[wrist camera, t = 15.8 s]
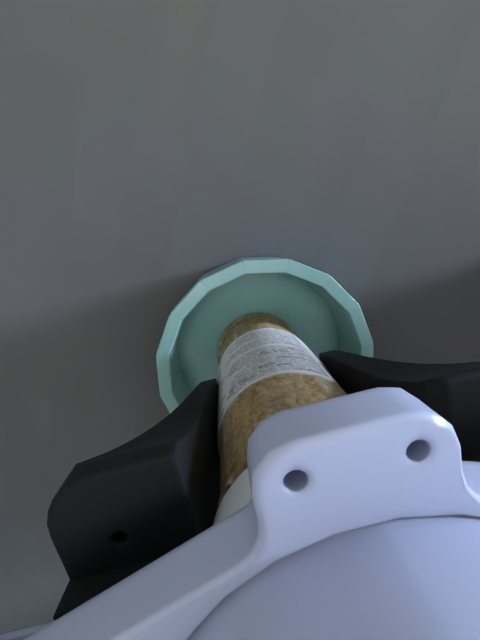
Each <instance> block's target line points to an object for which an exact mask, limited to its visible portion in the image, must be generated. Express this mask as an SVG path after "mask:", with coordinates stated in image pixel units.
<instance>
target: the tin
mask: <svg viewBox="0 0 480 640" xmlns="http://www.w3.org/2000/svg"><path fill="white" fill-rule="evenodd" d="M252 313H268V314H271V315H273V316H276V317H278V318H280V319H282V320H283V321H284V322H286V323H287V324H288V325H289V326H290V327H291V329H292V330H293V331H294V332H295V334H296V337H298V338H299V339H300V340H301V341H302V342H303V343H304V344H305V345H306V346H307V347H308V348H309V349H310V350H311V351H312V352H313V354H314V355H315V356H316V357H317V358H318V359H319V353H323V352H327V351H331V350H340V351H345V352H349V353H354V354H358V355H362V356H367V357H371V358H373V350H374V344H373V340H372V337H371V335H370V332H369V329H368V327H367V324H366V321H365V318H364V316H363V313H362V310H361V307H360V306H359V304H358V303H357V302H356V301H355V300H354V299H353V298H352V297H351V296H350V295H349V294H348V293H347V292H346V291H345V290H344V289H343V288H342V287H341V286H340V285H339V284H338V283H337V282H336V281H335V280H334V279H333V278H332V277H331V276H330V275H329V274H326V273H324V272H321V271H319V270H316V269H314V268H311V267H308V266H306V265H303V264H301V263H298V262H296V261H293V260H290V259H286V258H280V257H252V258H239V259H235V260H233V261H231V262H229V263H226V264H224V265H221V266H219V267H217V268H216V269H214V270H212V271H210V272H207V273H205V274H204V275H202V276H201V277H200V278H199V280H198V281H197V282H196V283H195V284H194V285H193V286H192V287H191V288H190V290H189V291H188V292H187V293H186V294H185V295H184V296H183V297H182V298H181V300H180V301H179V302H178V303H177V304H176V306H175V307H174V308H173V310H172V311H171V312H170V314H169V316H168V319H167V322H166V325H165V328H164V331H163V334H162V337H161V340H160V343H159V346H158V349H157V352H156V364H157V374H158V384H159V394H160V397H161V399H162V401H163V402H164V404H165V406H166V408H167V409H168V411H169V413H172V412H173V411H174V410H175V409H176V408H177V407H178V406H179V405H180V404H181V403H182V402H183V401H184V400H185V399H186V398H187V396H188V395H189V394H190V393H191V392H192V391H193V390H194V389H195V388H196V387H197V385H198V384H199V383H201V382H203V381H207V380H211V379H215V378H216V379H217V383H218V370H219V365H218V358H217V347H218V343H219V340H220V338H221V336H222V334H223V332H224V331H225V329H226V328H227V327H228V326H229V325H230V324H231V323H232V322H233V321H234V320H235V319H237V318H240V317H242V316H244V315H247V314H252ZM319 360H320V359H319Z"/></svg>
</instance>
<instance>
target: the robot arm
mask: <svg viewBox="0 0 480 640" xmlns="http://www.w3.org/2000/svg"><path fill="white" fill-rule="evenodd" d="M319 359H320V361H321V362H322V363H323V365H324V366H325V367H326V368H327V369H328V371H329V372H330V374H331V376H332V377H333V378H334V379H335V381H336V382H337V383H338V384H339V385H340V386H341V388H342V389H343V390H344V391H345V392H346V393H347V394H348V395H344V396H340V397H336V398H332V399H328V400H323V401H319V402H315V403H311V404H307V405H303V406H299V407H295V408H291V409H286V410H282V411H280V412H278V413H276V414H274V415H272V416H270V417H268V418H266V419H264V420H262V421H260V423H259V424H258V426H257V427H256V428H255V430H254V431H253V433H252V434H251V436H250V437H249V439H248V445H247V465H248V473H249V480H250V488H251V496H252V498H251V500H250V501H249V503H248V504H247V505H246V506H245V507H243V508H241V509H240V510H238V511H236V512H235V513H233V514H231V515H230V516H228V517H226V518H225V519H223V520H221V521H220V522H218V523H216V524H215V525H213V523H214V519H215V516H216V512H217V508H218V502H219V498H220V457H219V452H218V443H217V426H218V383H217V379H216V378H215V379H211V380H207V381H203V382H201V383H199V384H198V385H197V387H196V388H195V389H194V390H193V391H192V392H191V393H190V394H189V395H188V396H187V398H186V399H185V400H184V401H183V402H182V403H181V404H180V405H179V406H178V407H177V408H176V409H175V410H174V411H173V412H172V413H170V414H169V415H168V416H167V417H166V418H164V419H163V420H162V421H161V422H159V423H158V424H157V425H155V426H154V427H152V428H151V429H149V430H148V431H146V432H145V433H143V434H141V435H140V436H138V437H136V438H135V439H133V440H131V441H129V442H127V443H126V444H124V445H122V446H120V447H117V448H115V449H113V450H111V451H109V452H106V453H104V454H102V455H99V456H96V457H94V458H91V459H89V460H86V461H83V462H81V463H78V464H76V465H75V466H74V468H73V469H72V471H71V472H70V474H69V475H68V477H67V478H66V480H65V481H64V483H63V484H62V486H61V488H60V489H59V491H58V492H57V494H56V495H55V497H54V498H53V500H52V502H51V505H50V508H49V510H48V519H47V526H48V529H49V533H50V536H51V539H52V541H53V543H54V545H55V548H56V550H57V552H58V554H59V556H60V558H61V561H62V563H63V565H64V567H65V569H66V571H67V574H68V576H69V578H70V581H69V583H68V585H67V587H66V590H65V592H64V594H63V596H62V599H61V601H60V603H59V605H58V607H57V610H56V612H55V614H54V616H53V618H54V620H55V621H53V622H50V623H46V624H42V625H38V626H34V627H30V628H26V629H22V630H18V631H14V632H10V633H5V634H1V635H0V640H480V362H470V363H456V364H415V363H404V362H394V361H388V360H382V359H376V358H371V357H367V356H362V355H358V354H354V353H349V352H345V351H340V350H331V351H327V352H323V353H319Z"/></svg>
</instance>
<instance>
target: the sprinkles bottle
mask: <svg viewBox="0 0 480 640" xmlns="http://www.w3.org/2000/svg"><path fill="white" fill-rule="evenodd" d="M217 358H218V365H219V370H218V426H217V443H218V452H219V457H220V498H219V502H218V508H217V512H216V516H215V519H214V523H213V525H215V524H216V523H218V522H220V521H221V520H223V519H225V518H226V517H228V516H230V515H231V514H233V513H235V512H236V511H238V510H240V509H241V508H243V507H245V506H246V505H247V504H248V503H249V501H250V500H251V498H252V496H251V488H250V480H249V473H248V465H247V445H248V439H249V437H250V436H251V434H252V433H253V431H254V430H255V428H256V427H257V426H258V424H259V423H260V421H262V420H264V419H266V418H268V417H270V416H272V415H274V414H276V413H278V412H280V411H282V410H286V409H291V408H295V407H299V406H303V405H307V404H311V403H315V402H319V401H323V400H328V399H332V398H336V397H340V396H344V395H348V394H347V393H346V392H345V391H344V390H343V389H342V388H341V386H340V385H339V384H338V383H337V382H336V381H335V379H334V378H333V377H332V376H331V374H330V372H329V371H328V369H327V368H326V367H325V366H324V365H323V363H322V362H321V361H320V360H319V359H318V358H317V357H316V356H315V355H314V354H313V352H312V351H311V350H310V349H309V348H308V347H307V346H306V345H305V344H304V343H303V342H302V341H301V340H300V339H299V338H298V337H296V334H295V332H294V331H293V330H292V329H291V327H290V326H289V325H288V324H287V323H286V322H284V321H283V320H282V319H280V318H278V317H276V316H273V315H271V314H268V313H252V314H247V315H244V316H242V317H240V318H237V319H235V320H234V321H233V322H232V323H231V324H230V325H229V326H228V327H227V328H226V329H225V331H224V332H223V334H222V336H221V338H220V340H219V343H218V347H217Z"/></svg>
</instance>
